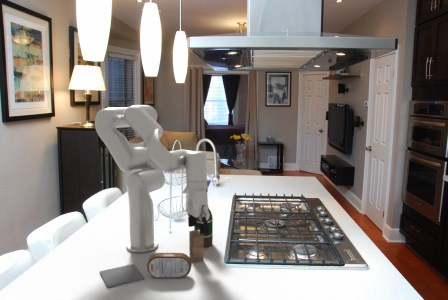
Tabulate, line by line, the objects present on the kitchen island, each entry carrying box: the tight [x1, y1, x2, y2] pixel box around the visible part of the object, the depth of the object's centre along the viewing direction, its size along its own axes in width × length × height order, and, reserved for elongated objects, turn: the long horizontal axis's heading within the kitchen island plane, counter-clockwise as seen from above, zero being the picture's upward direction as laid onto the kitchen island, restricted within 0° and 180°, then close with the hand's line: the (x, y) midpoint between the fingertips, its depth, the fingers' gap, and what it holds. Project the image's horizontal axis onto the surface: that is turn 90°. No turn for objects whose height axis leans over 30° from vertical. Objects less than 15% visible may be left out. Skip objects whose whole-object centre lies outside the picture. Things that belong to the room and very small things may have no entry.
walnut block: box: [188, 229, 205, 264], centre depth 137 cm, size 4×4×11 cm
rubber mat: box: [99, 263, 145, 289], centre depth 125 cm, size 12×12×1 cm
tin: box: [146, 252, 193, 279], centre depth 124 cm, size 15×3×8 cm, turn 92°
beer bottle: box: [193, 188, 214, 249], centre depth 151 cm, size 8×8×24 cm
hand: (198, 229), depth 136 cm, fingers open, 9 cm apart
